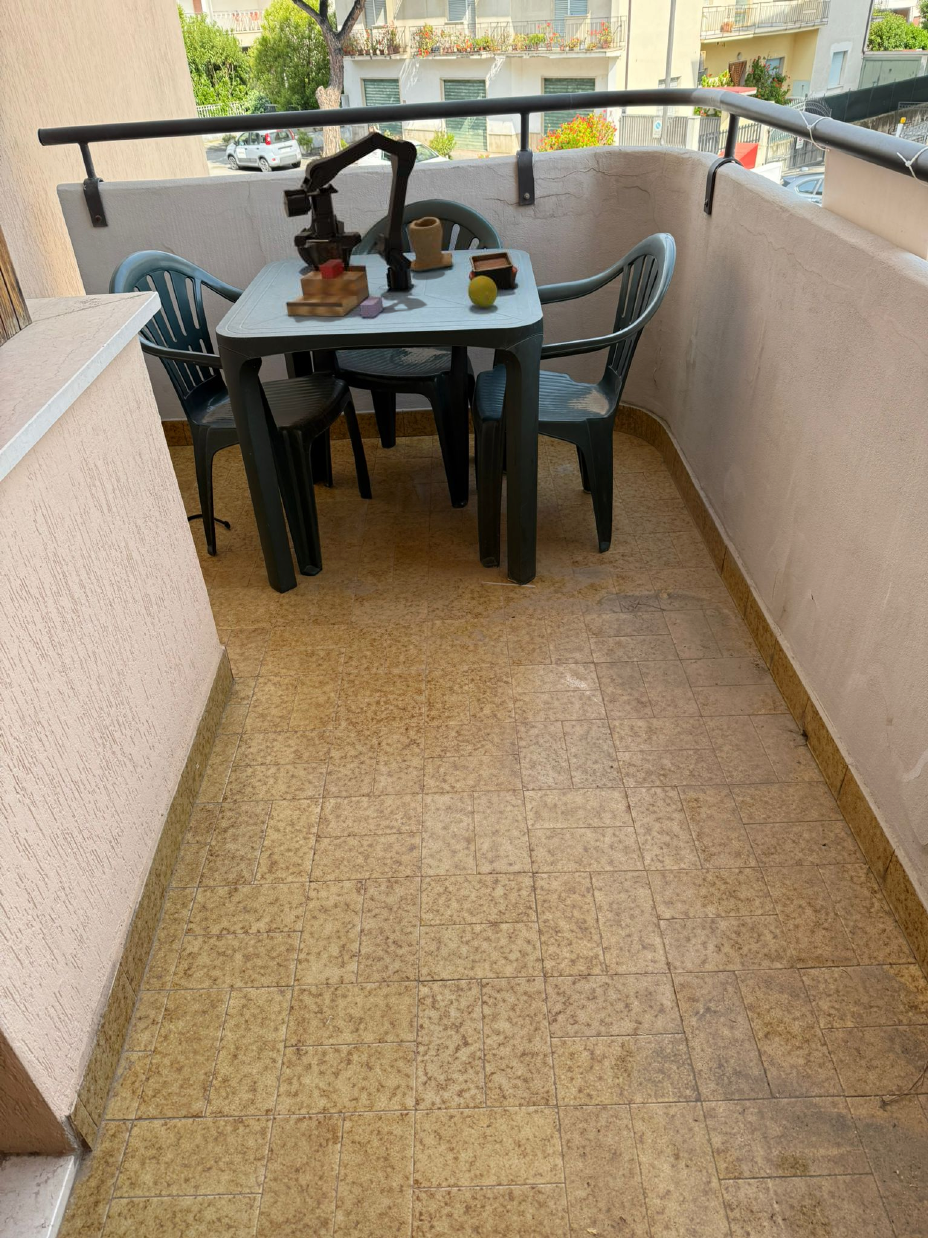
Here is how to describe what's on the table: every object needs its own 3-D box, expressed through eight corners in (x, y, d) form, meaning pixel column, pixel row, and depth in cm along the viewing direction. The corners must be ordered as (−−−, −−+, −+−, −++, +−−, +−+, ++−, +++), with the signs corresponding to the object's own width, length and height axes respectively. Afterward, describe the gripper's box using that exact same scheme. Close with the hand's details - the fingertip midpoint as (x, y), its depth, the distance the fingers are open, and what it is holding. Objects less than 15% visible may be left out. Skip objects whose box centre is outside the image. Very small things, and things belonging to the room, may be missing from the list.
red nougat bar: (343, 271, 246) (341, 259, 244) (333, 278, 240) (331, 266, 238) (332, 271, 247) (330, 259, 245) (321, 278, 241) (319, 266, 239)
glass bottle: (310, 260, 289) (295, 169, 273) (359, 258, 286) (348, 166, 270) (293, 273, 275) (276, 179, 259) (345, 272, 272) (331, 176, 256)
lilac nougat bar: (383, 308, 237) (381, 296, 235) (373, 317, 231) (372, 304, 229) (371, 308, 238) (369, 296, 236) (361, 316, 232) (360, 304, 230)
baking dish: (468, 300, 245) (468, 266, 238) (469, 274, 258) (469, 241, 250) (517, 301, 245) (519, 267, 238) (515, 275, 257) (517, 242, 250)
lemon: (500, 310, 229) (499, 279, 224) (472, 313, 228) (470, 282, 224) (493, 299, 238) (492, 269, 233) (466, 302, 237) (464, 272, 232)
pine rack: (369, 295, 249) (365, 264, 244) (343, 316, 234) (338, 284, 229) (317, 294, 254) (312, 264, 249) (288, 315, 238) (282, 283, 233)
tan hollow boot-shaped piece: (414, 276, 264) (409, 224, 255) (406, 267, 273) (401, 217, 264) (460, 269, 266) (457, 218, 257) (451, 261, 276) (447, 211, 267)
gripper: (364, 205, 237) (372, 263, 247) (304, 206, 242) (314, 263, 251) (350, 214, 229) (358, 273, 238) (288, 215, 234) (298, 273, 243)
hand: (332, 270), depth 243 cm, fingers open, 9 cm apart
